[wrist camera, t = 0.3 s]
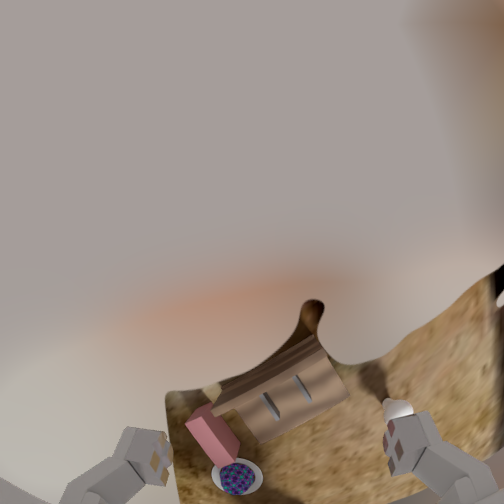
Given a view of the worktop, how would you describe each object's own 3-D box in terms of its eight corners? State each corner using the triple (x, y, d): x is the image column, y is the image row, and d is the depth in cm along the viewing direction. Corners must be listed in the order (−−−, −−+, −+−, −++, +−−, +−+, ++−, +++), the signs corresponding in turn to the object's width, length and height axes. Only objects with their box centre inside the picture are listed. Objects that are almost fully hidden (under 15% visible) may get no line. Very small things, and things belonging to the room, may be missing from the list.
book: (240, 443, 59) (235, 462, 50) (225, 449, 59) (218, 468, 50) (211, 401, 61) (201, 416, 52) (196, 408, 61) (184, 423, 52)
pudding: (202, 469, 59) (196, 480, 53) (240, 447, 59) (237, 458, 54) (234, 499, 57) (231, 511, 51) (273, 479, 57) (272, 491, 52)
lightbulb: (370, 395, 58) (386, 413, 47) (396, 385, 57) (415, 400, 46) (376, 418, 57) (391, 438, 46) (400, 407, 56) (419, 425, 45)
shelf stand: (349, 394, 58) (364, 416, 45) (260, 442, 58) (256, 472, 45) (312, 334, 61) (320, 344, 48) (221, 386, 61) (207, 407, 48)
